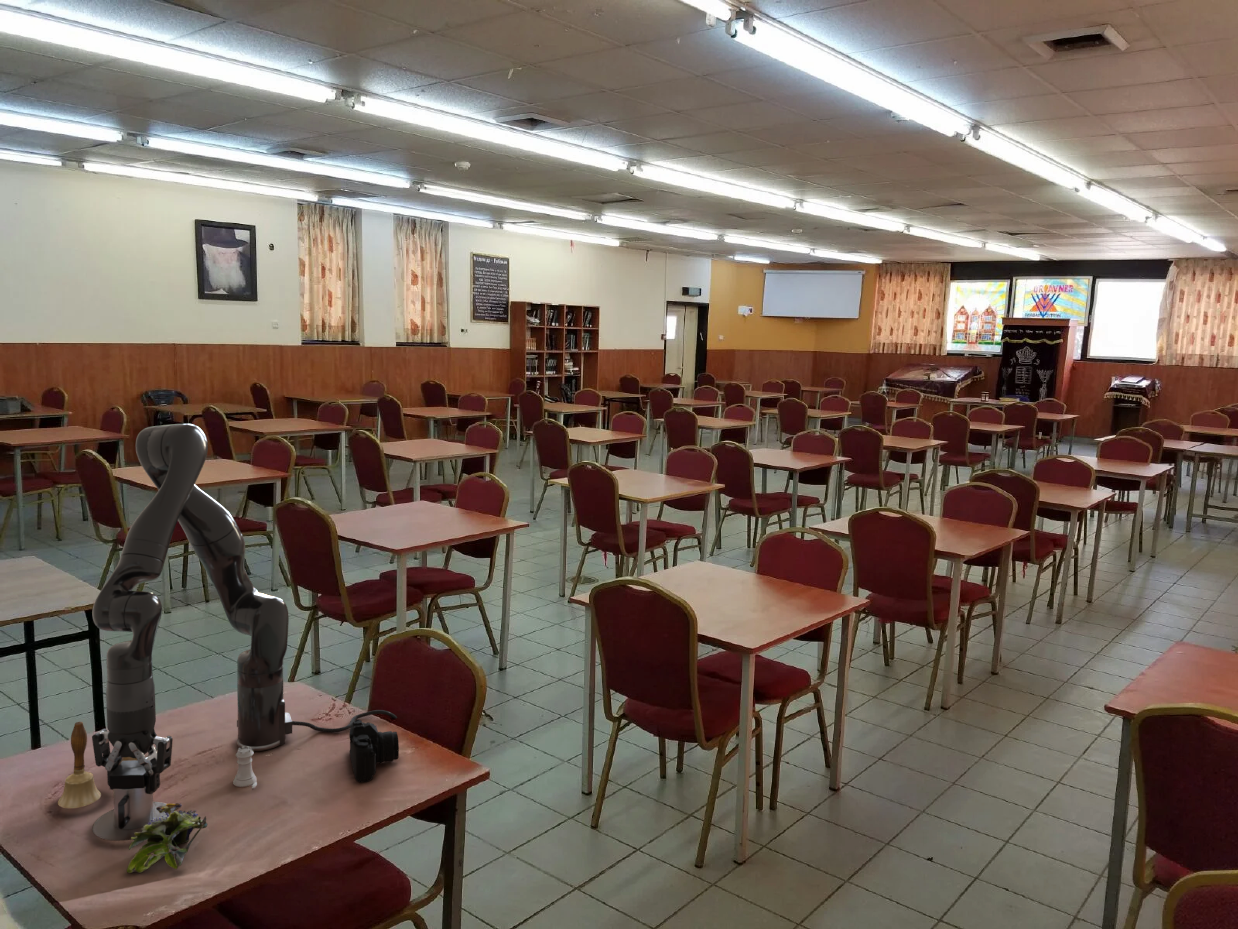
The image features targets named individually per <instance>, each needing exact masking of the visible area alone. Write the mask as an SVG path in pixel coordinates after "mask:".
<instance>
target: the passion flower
mask: <svg viewBox="0 0 1238 929" xmlns="http://www.w3.org/2000/svg"><path fill="white" fill-rule="evenodd" d="M166 804H167V805H166V806H159V807H157V808H156V809H157V810H158V811H159V813H165V814H166V815H167V817H164V816H162V817H161V818H160V817H159V818H156V819H154V818H152V819H154V820H151V821H149V822H148V823H147V825H145V826H143V827H144V828H142V830H143V831H142V832H141V833H140V832H139V833H138V832H136V833H134V834H135V836H137V837H131V839H132V841H131V843H130V844H129V846H128V851H131V850H132V849H133V848H135V846H138V845H139V844H141V843H144V842H145V841H146V843H144V844H143V845H142V846H141V847H140V848H139V850H138V851H137V852H135V854H134V856H133V857H132V859H130V861H129V862H128V865H127V868H126V873H128V874H132V873H134V872H136V873H143V872H145V871H146V870H148V869H150V868H151V867H152V866H153V865H155V864H156V863H157V862H159V860H161V859H162V858H163V857H164V861H165V862H166V864H167V866H168V867H171V868H173V869H174V870H177V869H178V867H180V866H182V863H183V860H184V858H185V855H186V854H187V853H188V851H189V848H190V845H191V844H192V843H193V841H194V840H195V838H196V837H197V836H198V834H199V833H200V831H201V830H202V829H205V828H207V827H208V823H207V816H206V815H205V816H204V817H203V819H201V818H202V817H201V816H198V815H199V814H198V813H196V812H197V810H192V809H190V810H188V811H187V812H186V810H184V811H183V810H179V809H180V808H182V805H183V804H182V802H177V803H166ZM173 811H174V812H173ZM195 829H197V831H196V832H195V833H194V835H193V836H192V838H191V839H190V836H191V834H192V832H193V831H194V830H195ZM184 843H187V844H186V845H185V846H184V847H179V845H182V844H184ZM176 861H177V862H178V864H177V862H176Z"/></svg>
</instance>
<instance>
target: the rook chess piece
mask: <svg viewBox="0 0 1238 929" xmlns="http://www.w3.org/2000/svg"><path fill="white" fill-rule="evenodd" d="M254 752H255V751H252V748H251V747H250V749H249V746H247V747H246V748H245V749H244V746H243V747H242V749H241V748H239V747H238V749H237V751H236V753H235V757H236V758H237V760H236V764H237V771H236V774H235V777H234V779H233V781H232V784H233V785H234V786H235V787H237V788H246V787H250V786H251V789H252V790H254V789H255V788H256V787H257V786H258V782H257V776H256V774H255V773H254V771H253V766H252V765H253V764H252V762H253V758H252V756H253V755H254Z"/></svg>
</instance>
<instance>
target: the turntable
mask: <svg viewBox="0 0 1238 929" xmlns="http://www.w3.org/2000/svg"><path fill="white" fill-rule="evenodd" d="M153 803H154V819H156V818H159V817H160V818H161V817H162V816H164V817H167V815H166V814H165V813H159V811H158V810H157V809H156V808H157V807H159V806H166V805H167V804H168V803H165V802H160V801H153ZM173 812H174V811H173ZM154 819H153V820H154ZM142 828H144V827H143V826H142V827H139V828H135V829H128V830H125V829H119V828H117V827H116V826H115V824H114V808H113V809H110V810H108V811H107V812H105V813H103V814H102V815H101V816H99V817H98V818H97V819H96V820H95V821H94V822H93V825H92V829H91V830H92V833H93V835H94V836H96V837H97V838H99V839H102V840H104V841H105V840H106V841H111V842H112V841H113V842H122V841H131V840H132V839H131V837H137V836H135V834H134V833H136V832H138V833H139V832H140V833H141V832H142V831H143V830H142ZM132 841H133V840H132Z"/></svg>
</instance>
